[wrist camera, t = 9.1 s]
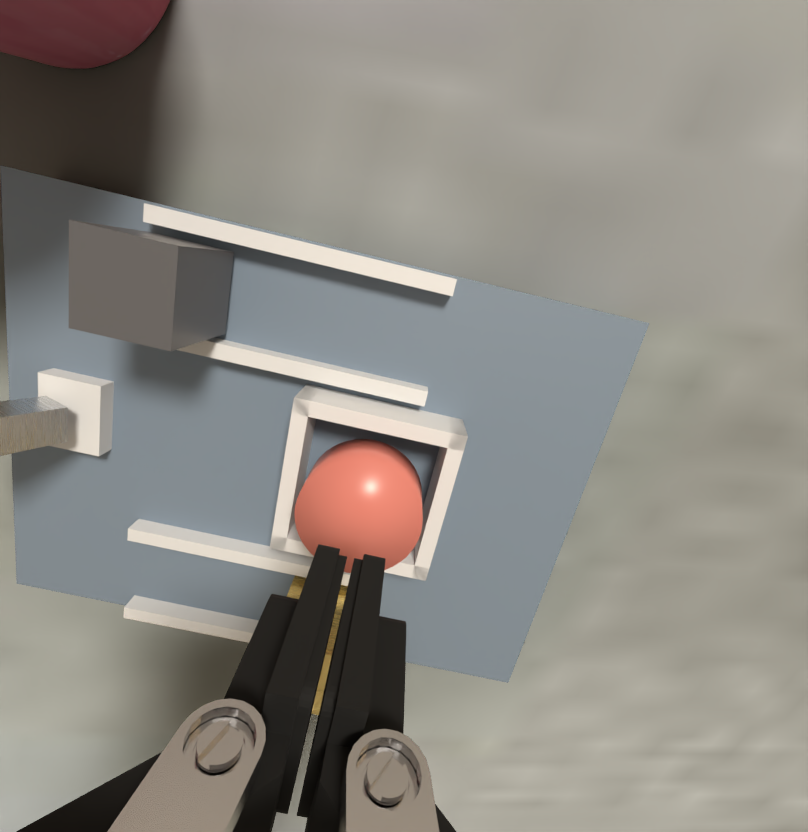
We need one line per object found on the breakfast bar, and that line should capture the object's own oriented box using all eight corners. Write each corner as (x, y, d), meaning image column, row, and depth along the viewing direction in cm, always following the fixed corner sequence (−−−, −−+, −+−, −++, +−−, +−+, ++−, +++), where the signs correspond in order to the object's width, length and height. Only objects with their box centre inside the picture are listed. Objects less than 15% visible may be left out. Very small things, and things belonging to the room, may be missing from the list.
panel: (499, 643, 25) (516, 720, 20) (56, 552, 24) (-23, 614, 19) (620, 316, 19) (678, 329, 15) (54, 179, 18) (-57, 150, 14)
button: (407, 552, 18) (406, 585, 16) (299, 529, 18) (285, 559, 16) (434, 453, 17) (436, 476, 15) (318, 427, 17) (305, 447, 15)
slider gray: (225, 333, 17) (170, 351, 13) (146, 315, 17) (68, 328, 13) (233, 252, 16) (178, 245, 12) (150, 231, 16) (68, 219, 12)
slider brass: (348, 638, 21) (334, 718, 18) (285, 625, 21) (257, 703, 17) (360, 587, 21) (348, 658, 17) (295, 573, 20) (268, 642, 17)
